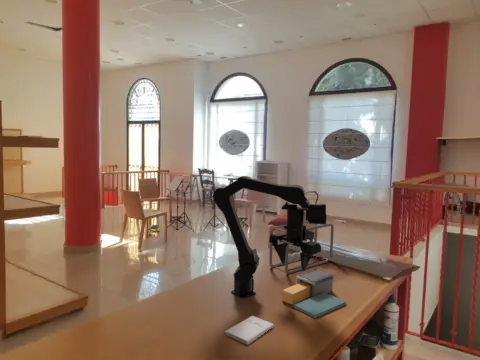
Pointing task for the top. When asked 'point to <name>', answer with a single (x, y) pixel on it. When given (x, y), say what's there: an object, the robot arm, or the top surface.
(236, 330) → the external hard drive
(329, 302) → the mat
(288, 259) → the newton's cradle
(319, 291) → the dispenser
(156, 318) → the top surface
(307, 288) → the tan rectangular slab
